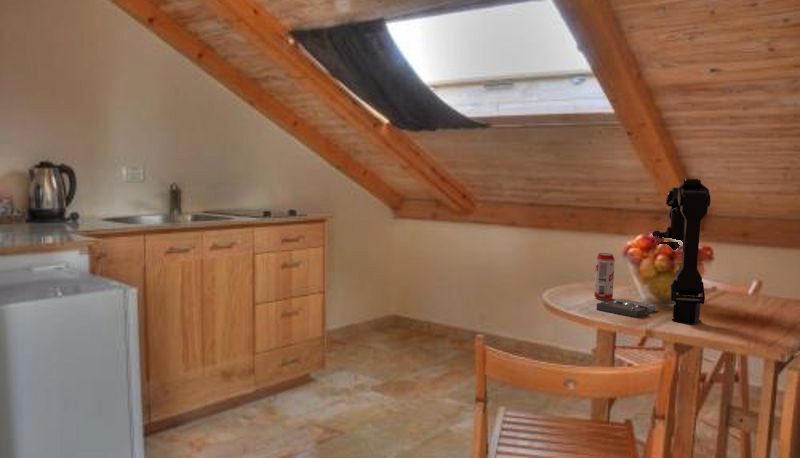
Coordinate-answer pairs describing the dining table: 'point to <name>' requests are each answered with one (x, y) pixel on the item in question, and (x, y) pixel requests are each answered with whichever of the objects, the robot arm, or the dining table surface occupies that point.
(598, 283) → the beer can
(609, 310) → the fixed leaf
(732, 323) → the dining table surface
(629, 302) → the free leaf
